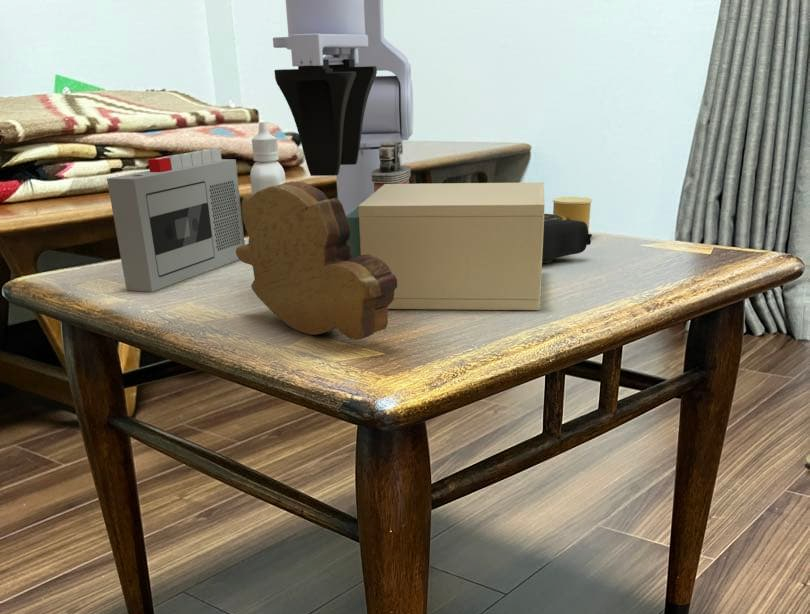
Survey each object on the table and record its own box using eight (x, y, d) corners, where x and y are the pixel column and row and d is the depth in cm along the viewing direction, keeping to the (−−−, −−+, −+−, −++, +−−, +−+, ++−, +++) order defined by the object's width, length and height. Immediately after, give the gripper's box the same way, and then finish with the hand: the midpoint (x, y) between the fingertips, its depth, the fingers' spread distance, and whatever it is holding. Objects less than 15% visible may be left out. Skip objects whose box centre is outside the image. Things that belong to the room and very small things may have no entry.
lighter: (401, 256, 86) (399, 145, 81) (368, 255, 87) (363, 145, 82) (417, 241, 93) (415, 138, 88) (386, 240, 94) (382, 138, 89)
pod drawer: (292, 294, 69) (285, 217, 66) (323, 265, 79) (318, 196, 76) (509, 296, 67) (512, 216, 64) (513, 265, 77) (515, 194, 74)
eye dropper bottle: (306, 247, 91) (296, 120, 85) (280, 258, 87) (268, 124, 81) (269, 246, 93) (257, 120, 87) (242, 256, 88) (227, 124, 82)
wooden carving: (420, 345, 59) (417, 186, 54) (370, 360, 56) (362, 195, 52) (272, 306, 70) (259, 170, 65) (224, 317, 67) (206, 176, 62)
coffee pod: (550, 234, 95) (552, 196, 93) (588, 234, 94) (591, 196, 92) (551, 241, 91) (553, 202, 89) (590, 241, 91) (593, 202, 89)
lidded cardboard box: (363, 308, 68) (358, 205, 65) (387, 274, 79) (384, 183, 75) (539, 310, 66) (544, 204, 63) (539, 274, 77) (543, 182, 74)
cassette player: (152, 291, 75) (131, 165, 70) (126, 289, 76) (104, 165, 71) (246, 256, 88) (234, 148, 83) (223, 255, 89) (210, 147, 84)
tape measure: (532, 270, 79) (534, 227, 77) (487, 258, 84) (488, 217, 82) (590, 261, 82) (593, 218, 80) (543, 249, 87) (545, 210, 85)
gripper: (293, -25, 70) (306, 160, 76) (238, -42, 57) (260, 181, 64) (380, -28, 69) (386, 159, 75) (345, -47, 56) (355, 180, 63)
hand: (334, 169), depth 70 cm, fingers open, 7 cm apart
